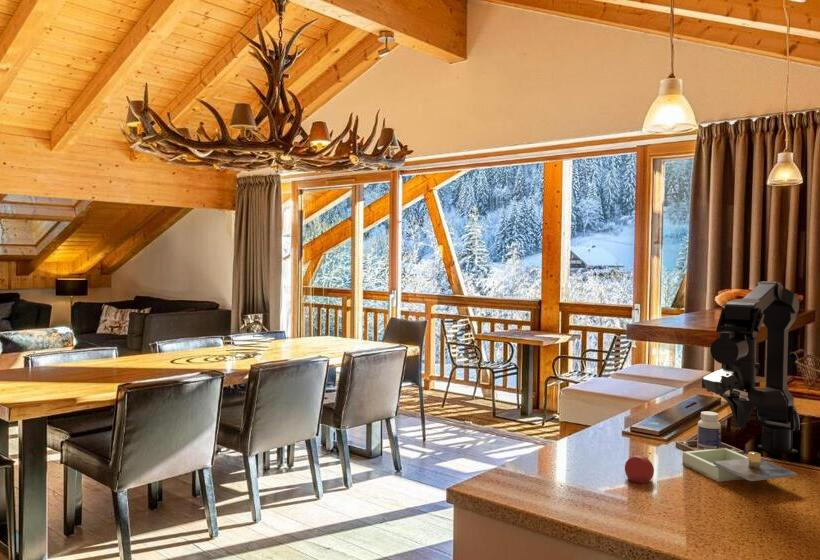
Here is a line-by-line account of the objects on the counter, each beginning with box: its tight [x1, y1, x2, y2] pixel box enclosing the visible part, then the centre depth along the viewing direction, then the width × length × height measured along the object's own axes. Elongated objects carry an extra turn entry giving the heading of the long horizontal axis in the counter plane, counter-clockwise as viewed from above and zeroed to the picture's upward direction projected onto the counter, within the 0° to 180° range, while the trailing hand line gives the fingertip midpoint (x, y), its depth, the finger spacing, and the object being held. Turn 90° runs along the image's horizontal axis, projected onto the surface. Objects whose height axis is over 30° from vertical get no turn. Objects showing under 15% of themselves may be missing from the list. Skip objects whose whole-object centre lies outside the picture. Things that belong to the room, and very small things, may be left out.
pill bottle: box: [696, 410, 722, 450], centre depth 164 cm, size 5×5×10 cm
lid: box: [713, 451, 798, 482], centre depth 141 cm, size 12×11×4 cm
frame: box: [675, 439, 745, 456], centre depth 164 cm, size 11×11×1 cm
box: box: [682, 448, 748, 483], centre depth 150 cm, size 12×12×3 cm
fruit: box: [624, 452, 655, 484], centre depth 145 cm, size 6×6×8 cm
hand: (740, 427), depth 146 cm, fingers closed
